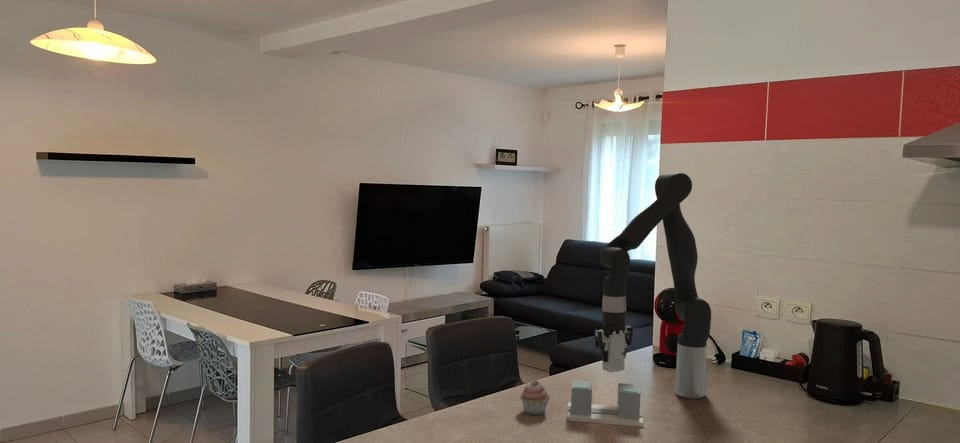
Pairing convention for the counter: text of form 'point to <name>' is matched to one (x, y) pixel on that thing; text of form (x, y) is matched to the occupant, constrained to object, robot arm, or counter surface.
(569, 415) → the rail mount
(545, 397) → the cupcake
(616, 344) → the skincare box
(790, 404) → the counter surface
